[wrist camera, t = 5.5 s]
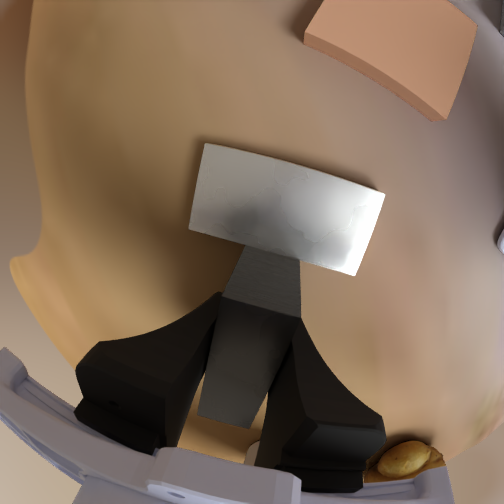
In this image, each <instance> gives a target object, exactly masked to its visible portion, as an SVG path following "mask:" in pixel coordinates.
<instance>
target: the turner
mask: <svg viewBox="0 0 504 504" xmlns="http://www.w3.org/2000/svg"><path fill="white" fill-rule="evenodd" d="M384 197H385V194H383V193H382V192H380V191H378V190H375V189H372V188H369V187H367V186H364V185H361V184H358V183H356V182H353V181H350V180H347V179H344V178H341V177H338V176H335V175H332V174H329V173H325V172H322V171H319V170H316V169H312V168H309V167H306V166H302V165H299V164H295V163H292V162H288V161H285V160H281V159H277V158H273V157H270V156H266V155H262V154H258V153H253V152H249V151H245V150H241V149H236V148H232V147H227V146H222V145H217V144H212V143H205V145H204V150H203V155H202V159H201V164H200V169H199V174H198V179H197V184H196V189H195V195H194V200H193V206H192V211H191V217H190V223H189V229H190V230H193V231H197V232H201V233H204V234H208V235H211V236H215V237H219V238H222V239H226V240H229V241H233V242H237V243H240V244H244V245H245V248H244V250H243V252H242V254H241V256H240V258H239V260H238V262H237V264H236V266H235V269H234V271H233V273H232V275H231V277H230V279H229V281H228V283H227V286H226V288H225V290H224V292H223V294H222V296H221V301H220V305H219V310H218V315H217V319H216V324H215V329H214V333H213V338H212V343H211V348H210V353H209V357H208V362H207V367H206V372H205V377H204V382H203V387H202V392H201V397H200V402H199V408H198V413H197V415H199V416H203V417H206V418H209V419H213V420H216V421H220V422H223V423H227V424H231V425H235V426H239V427H243V428H247V429H249V428H250V426H251V424H252V422H253V420H254V418H255V416H256V414H257V412H258V410H259V408H260V406H261V404H262V402H263V400H264V398H265V396H266V394H267V392H268V390H269V388H270V386H271V384H272V382H273V380H274V378H275V376H276V374H277V371H278V369H279V367H280V365H281V363H282V361H283V358H284V356H285V354H286V352H287V350H288V347H289V345H290V343H291V341H292V338H293V336H294V334H295V331H296V329H297V327H298V324H299V322H300V320H301V290H300V262H299V260H301V261H304V262H308V263H311V264H315V265H318V266H322V267H325V268H329V269H333V270H336V271H340V272H343V273H347V274H350V275H354V276H355V274H356V272H357V269H358V267H359V264H360V262H361V259H362V257H363V254H364V252H365V249H366V247H367V244H368V242H369V239H370V236H371V234H372V231H373V228H374V226H375V223H376V220H377V217H378V214H379V212H380V209H381V206H382V203H383V200H384Z"/></svg>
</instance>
